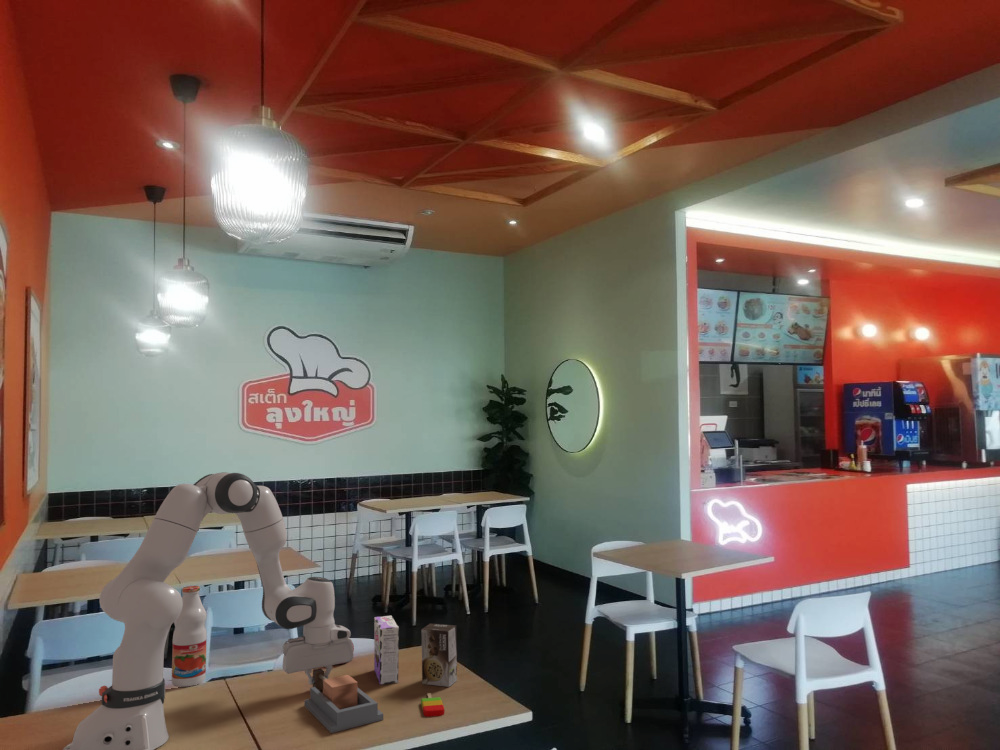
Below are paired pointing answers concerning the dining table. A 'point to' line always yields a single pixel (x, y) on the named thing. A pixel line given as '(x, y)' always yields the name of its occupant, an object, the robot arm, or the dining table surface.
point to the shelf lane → (343, 711)
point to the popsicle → (432, 706)
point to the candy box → (386, 649)
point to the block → (337, 689)
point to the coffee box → (439, 655)
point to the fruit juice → (189, 641)
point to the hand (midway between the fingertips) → (318, 682)
